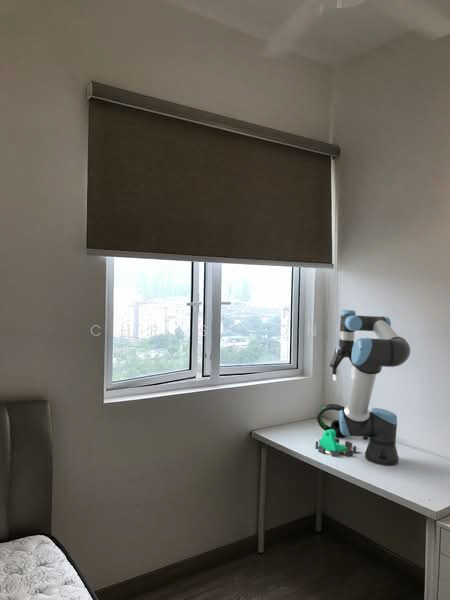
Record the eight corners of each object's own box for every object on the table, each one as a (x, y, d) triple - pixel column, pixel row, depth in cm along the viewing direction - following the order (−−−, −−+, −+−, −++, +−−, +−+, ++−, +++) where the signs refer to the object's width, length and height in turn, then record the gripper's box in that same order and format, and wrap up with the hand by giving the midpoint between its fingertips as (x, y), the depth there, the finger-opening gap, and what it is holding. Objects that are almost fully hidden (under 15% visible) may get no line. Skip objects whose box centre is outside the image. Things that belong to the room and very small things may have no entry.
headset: (357, 455, 255) (310, 425, 257) (360, 437, 266) (314, 409, 269) (376, 435, 245) (327, 405, 247) (378, 418, 256) (331, 389, 259)
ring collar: (364, 453, 233) (364, 448, 233) (335, 459, 223) (335, 454, 223) (335, 441, 250) (335, 436, 249) (307, 446, 239) (307, 441, 239)
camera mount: (347, 453, 232) (348, 432, 231) (335, 455, 228) (336, 433, 228) (330, 445, 242) (331, 424, 242) (318, 446, 239) (320, 426, 238)
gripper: (357, 338, 261) (355, 376, 262) (324, 339, 248) (321, 379, 249) (368, 339, 255) (366, 379, 256) (334, 341, 242) (332, 382, 242)
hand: (344, 379), depth 252 cm, fingers open, 13 cm apart
